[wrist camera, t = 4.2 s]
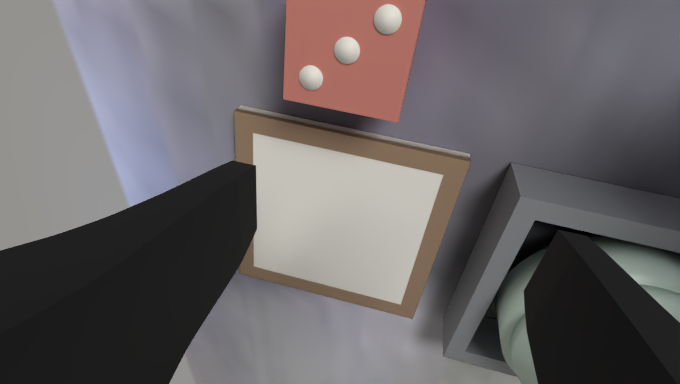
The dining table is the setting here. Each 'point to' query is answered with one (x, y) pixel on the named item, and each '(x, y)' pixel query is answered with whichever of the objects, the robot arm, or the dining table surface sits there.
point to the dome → (636, 259)
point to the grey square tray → (511, 230)
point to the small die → (351, 54)
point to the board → (346, 208)
